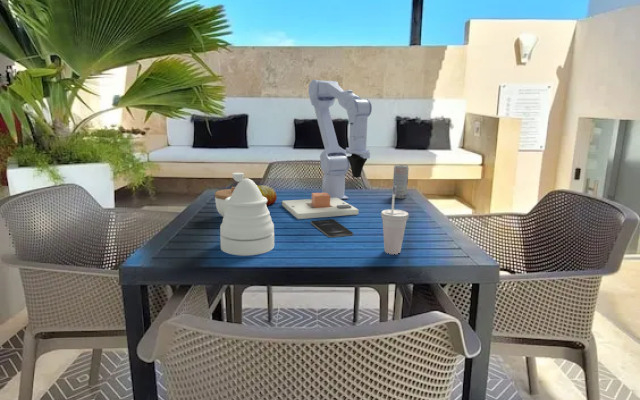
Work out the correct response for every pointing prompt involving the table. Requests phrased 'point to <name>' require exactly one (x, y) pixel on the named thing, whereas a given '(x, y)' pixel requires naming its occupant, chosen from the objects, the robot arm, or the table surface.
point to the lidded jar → (222, 199)
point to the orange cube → (320, 200)
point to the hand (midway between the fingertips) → (356, 177)
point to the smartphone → (331, 228)
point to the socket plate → (304, 210)
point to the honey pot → (246, 220)
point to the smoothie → (393, 228)
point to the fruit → (268, 194)
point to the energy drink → (400, 181)
